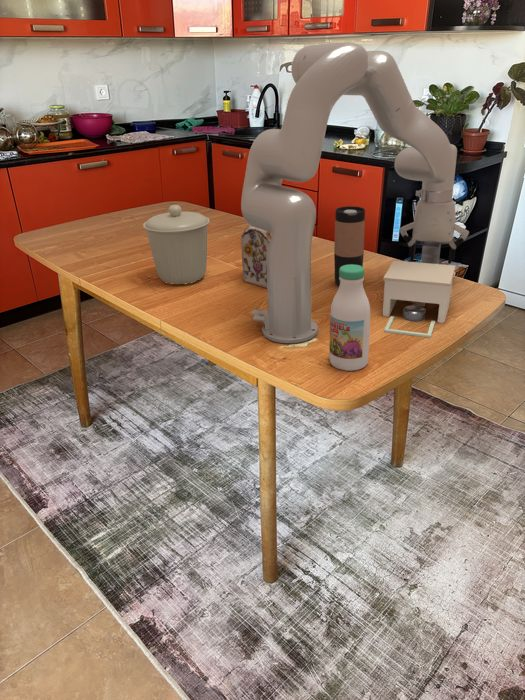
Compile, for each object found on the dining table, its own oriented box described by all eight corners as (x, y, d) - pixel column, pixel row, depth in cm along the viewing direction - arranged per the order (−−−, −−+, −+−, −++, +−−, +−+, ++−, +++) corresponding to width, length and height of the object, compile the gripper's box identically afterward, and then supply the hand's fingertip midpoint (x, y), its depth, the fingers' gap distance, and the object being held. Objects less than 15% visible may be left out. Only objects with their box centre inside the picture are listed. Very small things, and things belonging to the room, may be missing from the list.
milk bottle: (342, 350, 117) (345, 258, 108) (375, 360, 113) (380, 265, 104) (321, 364, 112) (322, 269, 103) (355, 375, 108) (359, 277, 98)
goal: (384, 331, 124) (384, 329, 124) (390, 318, 131) (390, 316, 130) (430, 337, 121) (430, 335, 120) (434, 323, 127) (435, 321, 127)
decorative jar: (273, 291, 149) (270, 224, 141) (241, 282, 156) (237, 217, 148) (301, 278, 157) (300, 214, 148) (270, 270, 164) (268, 208, 156)
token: (402, 321, 129) (402, 313, 128) (403, 312, 134) (404, 305, 133) (424, 322, 128) (425, 314, 127) (425, 314, 132) (425, 306, 131)
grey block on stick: (409, 306, 137) (412, 267, 132) (422, 274, 155) (425, 239, 150) (426, 307, 135) (430, 268, 131) (437, 276, 154) (441, 240, 149)
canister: (181, 265, 171) (173, 195, 162) (227, 274, 162) (221, 201, 152) (137, 283, 159) (126, 208, 149) (184, 295, 149) (175, 216, 139)
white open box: (381, 316, 132) (383, 277, 127) (390, 296, 142) (393, 260, 138) (445, 323, 127) (450, 283, 122) (451, 303, 137) (455, 265, 132)
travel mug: (345, 276, 156) (347, 204, 147) (368, 282, 151) (371, 208, 142) (328, 284, 152) (328, 210, 142) (350, 291, 147) (353, 214, 137)
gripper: (399, 198, 141) (395, 262, 149) (472, 200, 135) (463, 268, 143) (404, 191, 147) (400, 254, 155) (474, 193, 141) (466, 258, 149)
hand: (430, 260), depth 149 cm, fingers open, 9 cm apart
